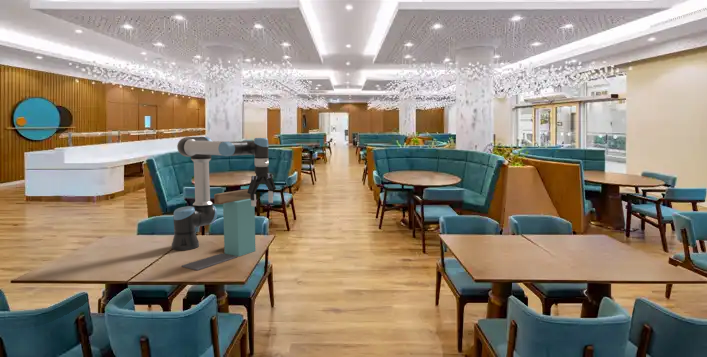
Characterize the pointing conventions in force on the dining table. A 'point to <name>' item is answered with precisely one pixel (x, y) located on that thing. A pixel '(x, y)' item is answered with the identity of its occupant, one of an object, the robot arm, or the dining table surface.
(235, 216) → the teal pedestal
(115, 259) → the dining table surface
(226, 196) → the walnut rail
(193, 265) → the charcoal mat
